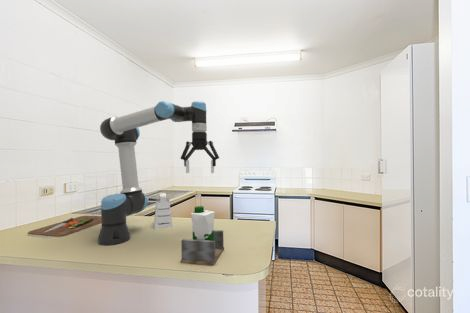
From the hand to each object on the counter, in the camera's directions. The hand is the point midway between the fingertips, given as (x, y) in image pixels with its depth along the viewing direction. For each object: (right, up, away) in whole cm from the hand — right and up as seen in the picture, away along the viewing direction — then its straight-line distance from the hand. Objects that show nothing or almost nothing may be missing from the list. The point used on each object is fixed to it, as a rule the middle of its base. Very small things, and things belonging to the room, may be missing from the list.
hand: (200, 172), depth 126 cm
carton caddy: (+5, -35, -20) cm, 40 cm away
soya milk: (+4, -34, -20) cm, 40 cm away
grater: (-27, -35, +26) cm, 51 cm away
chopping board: (-85, -37, +30) cm, 98 cm away
